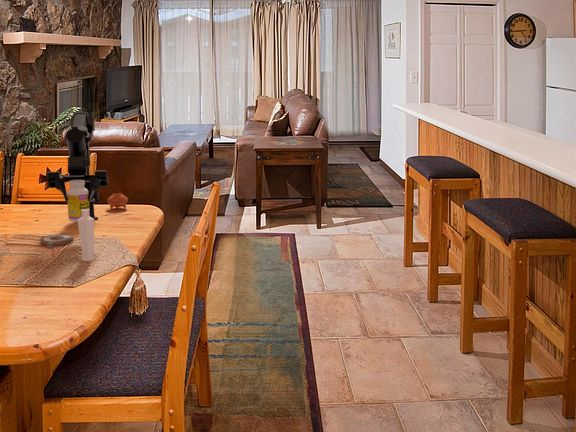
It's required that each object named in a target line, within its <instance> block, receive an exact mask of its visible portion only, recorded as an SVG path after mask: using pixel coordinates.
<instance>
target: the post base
mask: <svg viewBox="0 0 576 432" xmlns="http://www.w3.org/2000/svg"><path fill="white" fill-rule="evenodd" d="M71 242H72V243H73V242H74V236H73V235H71V234H67V233H66V232H61V233H58V234H51V235H50V234H49V235H46V236H42V237H41V238H40V239H39V243H40V245H41V246H45V247H47V248H49V249H50V248H53V247H59V246H66V245H69V243H70V244H72V243H71Z"/></svg>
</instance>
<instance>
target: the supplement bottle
mask: <svg viewBox="0 0 576 432" xmlns="http://www.w3.org/2000/svg"><path fill="white" fill-rule="evenodd" d="M68 183H69V184H68V185H69V188H68V189H66V193H67V202H66V203H67V210H68V211H67V214H68V220H69V222H74V223H78V219H79V218H81V217H82V211H81V210H82V209H89V216H90V208H89V199H88V195H89V192H88V190H87V189H86V188H84V185H85V181H84V180H71V181H69V182H68Z"/></svg>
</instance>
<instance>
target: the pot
mask: <svg viewBox="0 0 576 432" xmlns="http://www.w3.org/2000/svg"><path fill="white" fill-rule="evenodd" d="M128 201H129V199H128V197H127V196H125V195H124V194H123V193H121V192H118V193H112V195H111V196H109V197H108V199H107V203H108V204H109V207H110V210H112V209H114V208H121V207H123V210H126V207H127V203H128Z"/></svg>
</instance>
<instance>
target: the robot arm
mask: <svg viewBox="0 0 576 432" xmlns="http://www.w3.org/2000/svg"><path fill="white" fill-rule="evenodd" d="M94 119H95V118H94V117H93V116H91V115H90V114H89V113H88V112H86V111H75V112H73V114H72V116H71V117H70V126H69V128H68V129H67V131H66V133H65V135H64V143H65V144H66V146H67V150H68V157H67V174H66V175H65V174H61V172H60V171H48V172H47V173H46V175H45V176H46V177H45V178H46V182H47V183H46V184H47V187H48V188H49V189H55V190H57V191H58V190H59V191H60V192H61V194H62V196H63V199H64V201H65V203H68V202H67V187H66V183H69V181H71V180H84V181H85V185H84V188H86V189H87V190H88V192H89V195H88V199H89V208H90V217H91V218H93V219H94V221H95V220H98V219H99V216H98V217H97V216H96V215H95V204H98V203H100V196H99V190H98V189H101V187H107V186H109V177H108V175H109V174H108V171H107V170H103V169H102V170H94V174H91V173H90V172H91V170H90V169H91V168H90V167H91V155H90V143H92V140H93V137H94V132H95V131H96V130H95V129H96V123H95V120H94Z"/></svg>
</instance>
